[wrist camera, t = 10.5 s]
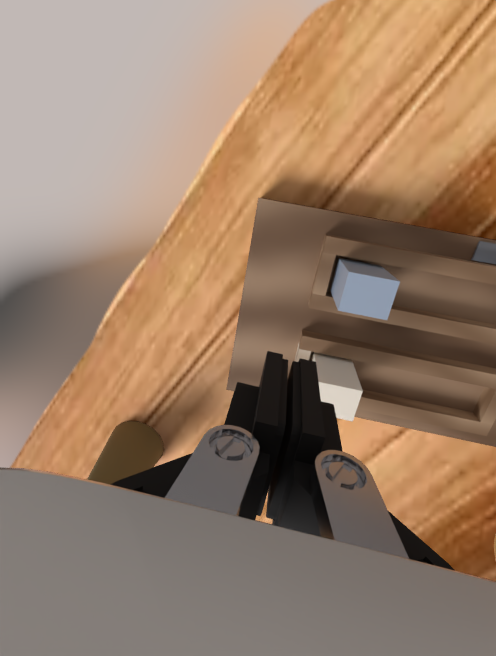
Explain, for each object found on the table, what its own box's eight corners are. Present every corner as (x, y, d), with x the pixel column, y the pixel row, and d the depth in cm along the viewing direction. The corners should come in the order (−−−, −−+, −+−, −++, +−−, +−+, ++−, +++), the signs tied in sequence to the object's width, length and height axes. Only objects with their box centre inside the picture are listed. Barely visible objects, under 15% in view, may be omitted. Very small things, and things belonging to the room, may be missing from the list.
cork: (110, 416, 38) (43, 497, 28) (164, 426, 38) (116, 511, 27) (111, 460, 40) (49, 550, 30) (162, 470, 40) (117, 564, 30)
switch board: (520, 440, 33) (544, 466, 30) (230, 379, 35) (223, 397, 31) (619, 262, 27) (663, 271, 24) (260, 197, 28) (256, 198, 25)
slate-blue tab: (370, 297, 28) (387, 320, 23) (330, 289, 28) (338, 310, 23) (380, 265, 27) (400, 281, 22) (338, 257, 27) (348, 271, 22)
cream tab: (343, 383, 31) (352, 421, 26) (306, 376, 31) (309, 412, 26) (351, 357, 30) (362, 391, 25) (313, 350, 30) (317, 381, 25)
